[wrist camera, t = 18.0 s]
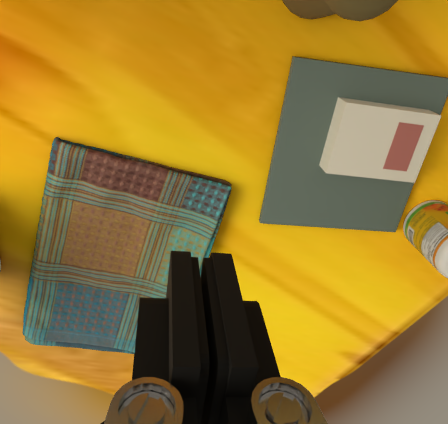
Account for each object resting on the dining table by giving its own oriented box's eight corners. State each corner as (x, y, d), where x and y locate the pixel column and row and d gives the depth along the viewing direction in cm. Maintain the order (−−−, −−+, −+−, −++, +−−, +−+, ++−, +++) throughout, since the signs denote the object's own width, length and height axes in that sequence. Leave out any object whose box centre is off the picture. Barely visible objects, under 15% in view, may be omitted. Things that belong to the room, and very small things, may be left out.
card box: (346, 102, 35) (441, 115, 36) (337, 96, 37) (428, 109, 38) (326, 173, 38) (415, 182, 39) (319, 165, 40) (404, 174, 41)
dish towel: (23, 328, 46) (16, 346, 44) (52, 132, 36) (44, 142, 34) (173, 350, 50) (173, 366, 48) (234, 179, 41) (238, 190, 38)
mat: (292, 56, 35) (294, 57, 35) (449, 78, 38) (453, 79, 37) (259, 220, 42) (260, 223, 42) (392, 229, 45) (395, 232, 44)
